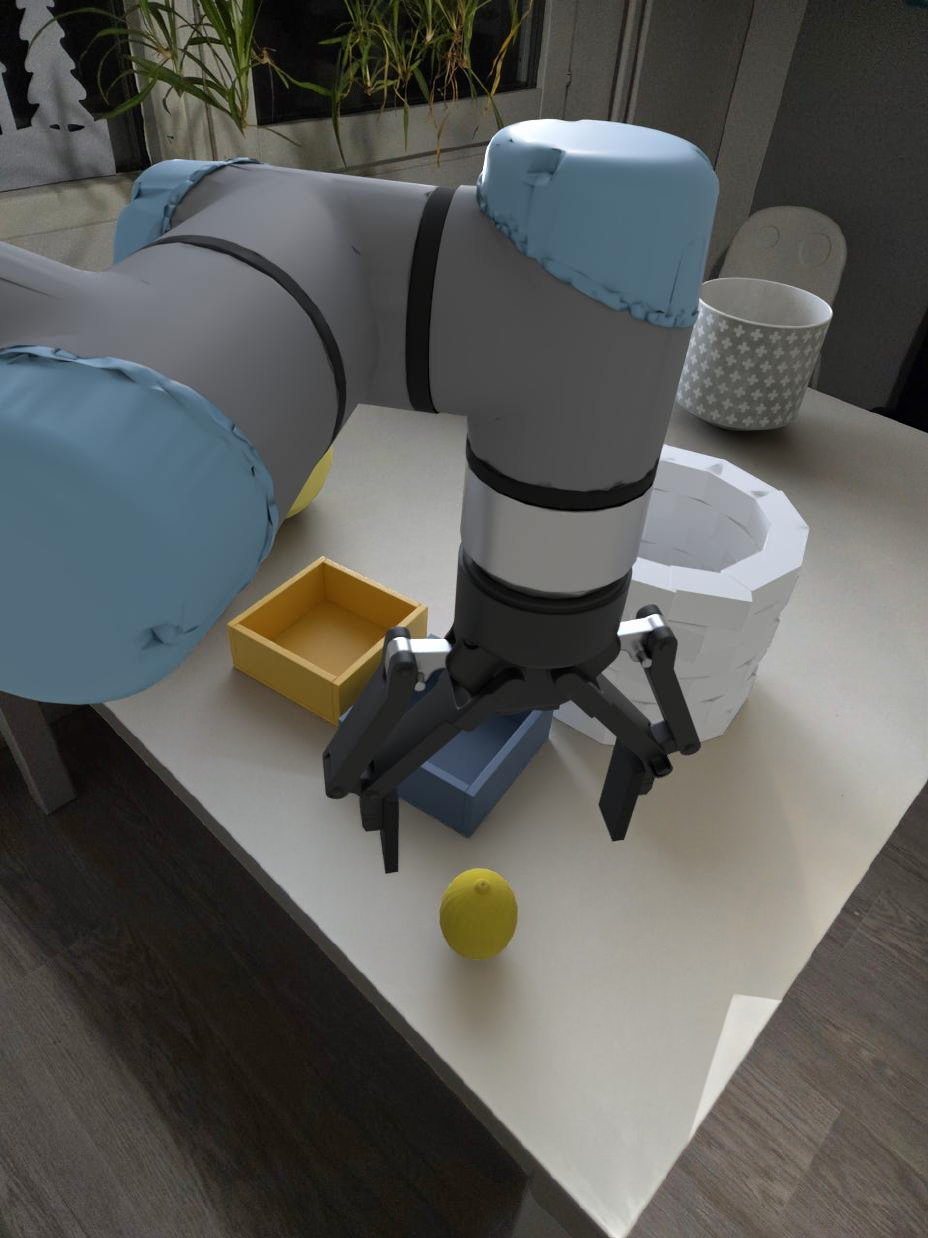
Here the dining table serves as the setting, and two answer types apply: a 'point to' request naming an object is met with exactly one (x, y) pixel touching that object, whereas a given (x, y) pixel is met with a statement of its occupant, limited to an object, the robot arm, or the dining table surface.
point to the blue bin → (473, 765)
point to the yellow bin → (321, 636)
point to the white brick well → (707, 587)
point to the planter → (752, 353)
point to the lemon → (478, 914)
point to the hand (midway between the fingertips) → (502, 837)
